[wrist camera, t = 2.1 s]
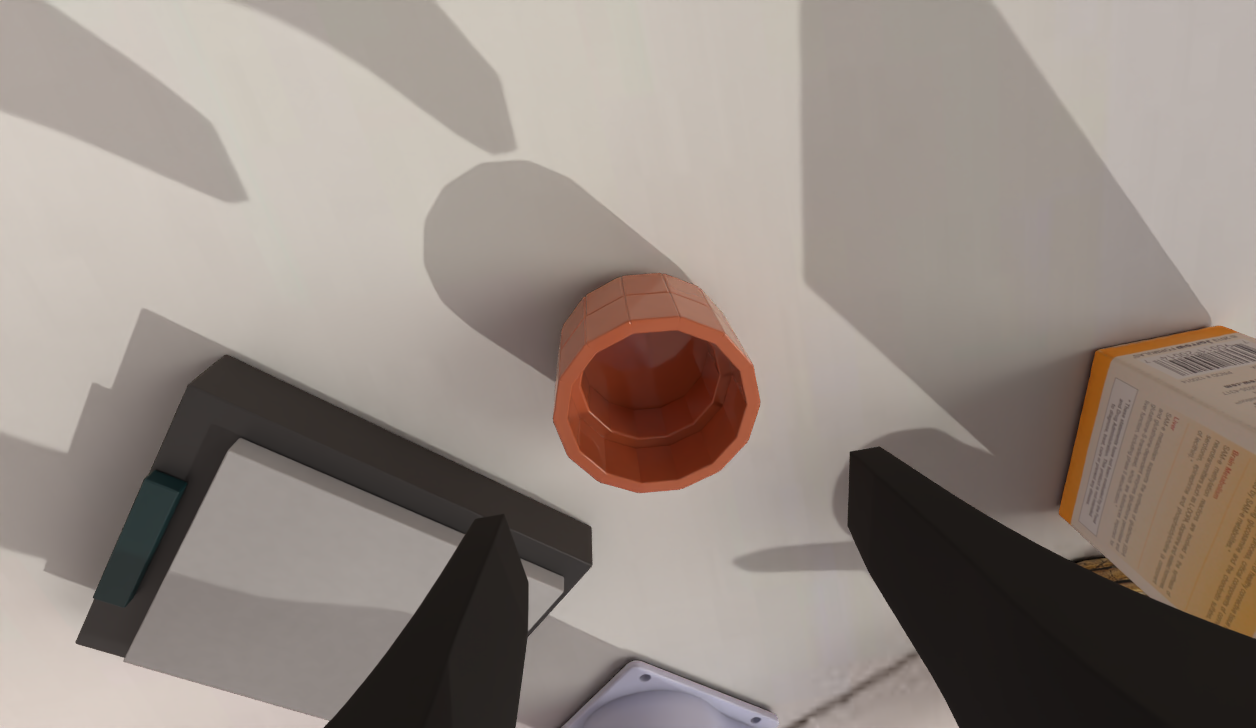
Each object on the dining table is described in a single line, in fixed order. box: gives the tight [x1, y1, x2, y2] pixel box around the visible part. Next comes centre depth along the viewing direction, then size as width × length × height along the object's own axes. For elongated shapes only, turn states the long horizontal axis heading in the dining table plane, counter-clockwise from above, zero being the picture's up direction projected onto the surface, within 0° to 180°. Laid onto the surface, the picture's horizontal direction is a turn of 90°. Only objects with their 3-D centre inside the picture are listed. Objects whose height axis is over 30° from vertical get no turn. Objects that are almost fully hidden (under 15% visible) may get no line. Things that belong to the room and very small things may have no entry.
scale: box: [76, 355, 592, 721], centre depth 21 cm, size 14×13×3 cm
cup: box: [553, 273, 760, 493], centre depth 17 cm, size 6×6×4 cm
